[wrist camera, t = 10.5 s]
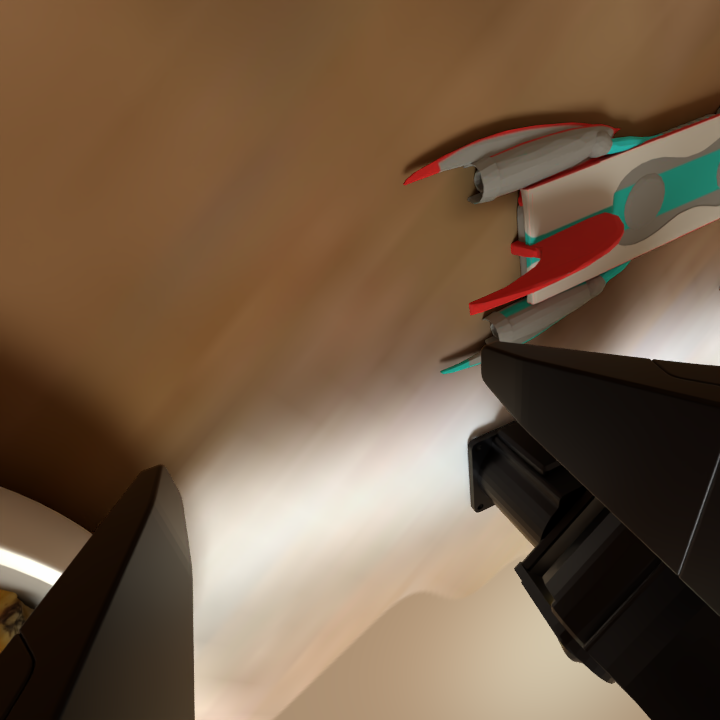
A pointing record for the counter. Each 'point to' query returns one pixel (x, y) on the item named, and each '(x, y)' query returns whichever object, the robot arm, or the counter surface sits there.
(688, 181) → the toy spaceship
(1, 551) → the bowl
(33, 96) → the counter surface
